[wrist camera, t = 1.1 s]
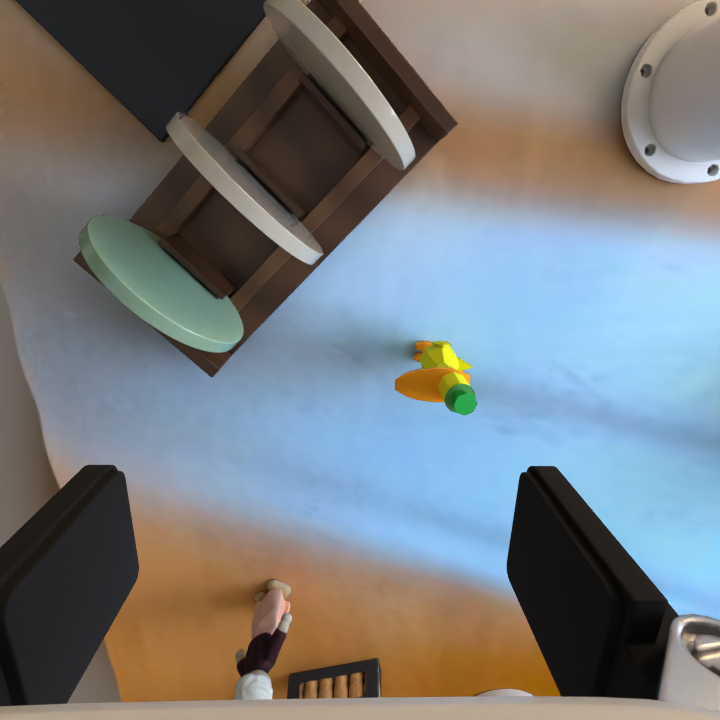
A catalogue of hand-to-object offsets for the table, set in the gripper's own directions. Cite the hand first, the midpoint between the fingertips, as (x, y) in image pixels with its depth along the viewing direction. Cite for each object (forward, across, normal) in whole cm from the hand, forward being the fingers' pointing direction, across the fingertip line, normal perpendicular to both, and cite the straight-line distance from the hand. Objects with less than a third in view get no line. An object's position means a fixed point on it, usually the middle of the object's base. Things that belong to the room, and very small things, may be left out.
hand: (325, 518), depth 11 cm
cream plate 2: (+23, 0, -14) cm, 27 cm away
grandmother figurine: (+31, +7, +33) cm, 45 cm away
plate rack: (+30, +6, -8) cm, 32 cm away
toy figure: (+30, -8, +5) cm, 32 cm away
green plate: (+23, +12, -2) cm, 26 cm away
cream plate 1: (+23, +6, -8) cm, 25 cm away
